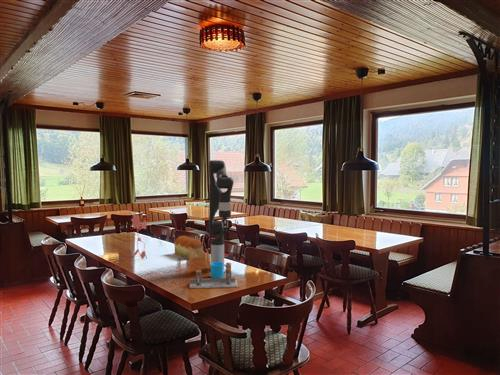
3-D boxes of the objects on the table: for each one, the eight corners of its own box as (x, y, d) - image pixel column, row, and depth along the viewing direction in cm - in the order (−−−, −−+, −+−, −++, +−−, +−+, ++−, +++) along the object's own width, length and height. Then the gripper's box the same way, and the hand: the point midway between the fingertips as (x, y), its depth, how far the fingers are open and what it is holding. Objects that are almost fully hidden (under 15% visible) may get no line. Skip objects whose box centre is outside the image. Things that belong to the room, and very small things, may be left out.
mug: (215, 278, 240) (215, 266, 240) (208, 275, 247) (208, 263, 246) (230, 275, 247) (230, 263, 247) (223, 272, 254) (223, 260, 254)
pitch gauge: (190, 283, 230) (190, 270, 230) (236, 282, 233) (236, 269, 233) (189, 288, 220) (189, 274, 220) (237, 287, 223) (237, 273, 223)
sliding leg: (225, 278, 232) (225, 262, 232) (230, 278, 233) (230, 262, 232) (226, 282, 225) (226, 265, 224) (231, 282, 225) (231, 265, 224)
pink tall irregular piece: (136, 254, 308) (135, 211, 305) (153, 259, 289) (152, 214, 287) (118, 257, 297) (117, 213, 295) (134, 263, 279) (133, 216, 276)
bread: (203, 257, 298) (203, 238, 297) (189, 259, 290) (189, 240, 290) (187, 252, 318) (187, 234, 317) (174, 254, 310) (174, 236, 309)
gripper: (218, 208, 242) (218, 233, 243) (219, 210, 228) (219, 237, 229) (230, 208, 243) (230, 233, 244) (231, 210, 229) (231, 237, 229)
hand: (224, 235), depth 236 cm, fingers open, 8 cm apart
